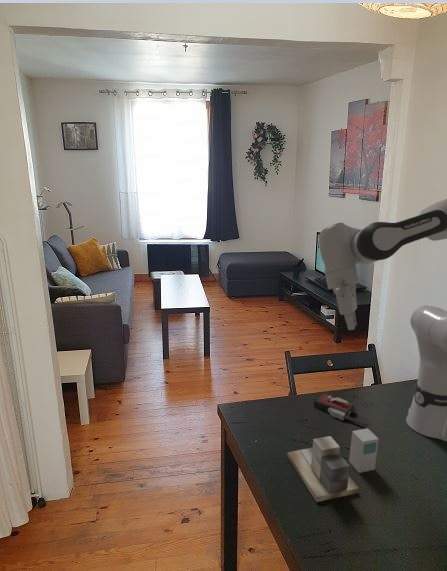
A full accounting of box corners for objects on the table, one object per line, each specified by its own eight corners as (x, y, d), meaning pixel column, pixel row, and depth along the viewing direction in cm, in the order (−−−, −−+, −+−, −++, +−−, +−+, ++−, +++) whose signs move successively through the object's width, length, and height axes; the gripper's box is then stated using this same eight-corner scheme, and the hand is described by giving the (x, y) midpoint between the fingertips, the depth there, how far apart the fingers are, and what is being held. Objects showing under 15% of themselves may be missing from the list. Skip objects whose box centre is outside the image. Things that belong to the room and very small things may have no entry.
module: (364, 458, 122) (367, 428, 120) (375, 470, 117) (379, 439, 115) (349, 461, 121) (352, 431, 118) (359, 473, 116) (363, 442, 113)
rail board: (323, 449, 126) (326, 417, 123) (358, 492, 109) (362, 456, 106) (286, 456, 122) (288, 424, 120) (316, 502, 106) (319, 465, 103)
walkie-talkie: (310, 409, 148) (366, 430, 136) (310, 398, 146) (367, 418, 135) (321, 399, 154) (375, 418, 142) (321, 388, 153) (376, 407, 141)
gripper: (351, 277, 109) (362, 329, 108) (355, 278, 128) (365, 322, 128) (327, 282, 111) (338, 333, 111) (334, 282, 131) (344, 326, 130)
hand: (352, 327), depth 119 cm, fingers open, 8 cm apart
